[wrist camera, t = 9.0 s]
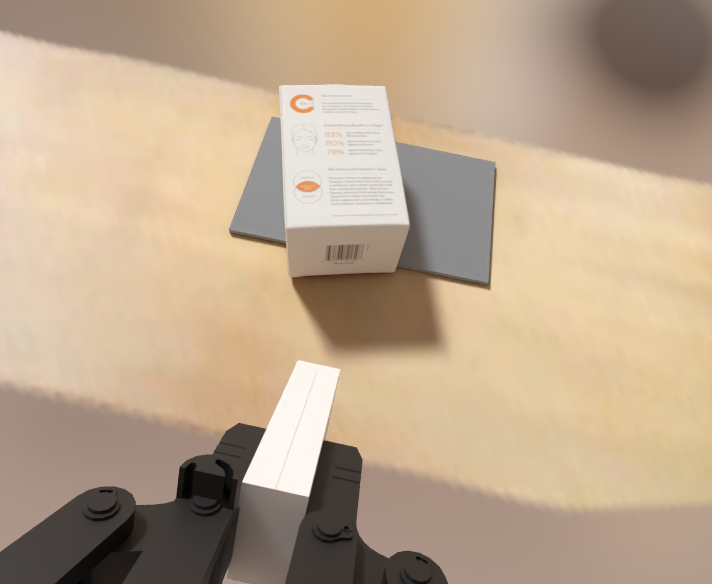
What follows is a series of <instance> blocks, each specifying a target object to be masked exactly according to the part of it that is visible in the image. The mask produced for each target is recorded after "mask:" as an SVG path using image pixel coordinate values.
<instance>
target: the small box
mask: <svg viewBox="0 0 712 584" xmlns="http://www.w3.org/2000/svg"><path fill="white" fill-rule="evenodd" d="M279 97H280V116H281V142H282V171H283V196H284V220H285V234H286V248H287V260H288V273H289V277H300V276H311V275H329V274H354V273H381V272H385V273H393V272H395V270H396V267H397V264H398V261H399V258H400V255H401V252H402V249H403V246H404V243H405V240H406V237H407V234H408V231H409V228H410V222H409V216H408V210H407V204H406V199H405V193H404V186H403V180H402V174H401V168H400V163H399V158H398V152H397V147H396V142H395V136H394V131H393V125H392V120H391V114H390V108H389V103H388V97H387V91H386V87H385V86H350V85H338V84H337V85H334V84H332V85H331V84H330V85H282V86H280V87H279Z"/></svg>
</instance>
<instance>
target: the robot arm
mask: <svg viewBox="0 0 712 584" xmlns="http://www.w3.org/2000/svg"><path fill="white" fill-rule="evenodd" d="M339 373H340V369H336V368H332V367H327V366H323V365H318V364H313V363H309V362H304V361H300V360H298V362H297V364H296V366H295V368H294V371H293V373H292V375H291V377H290V379H289V381H288V384H287V386H286V388H285V390H284V392H283V394H282V397H281V399H280V401H279V403H278V405H277V407H276V410H275V412H274V414H273V416H272V418H271V420H270V423H269V425H268V427H267V429H264V428H260V427H255V426H251V425H246V424H241V423H238V424H237V425H235V426H233V427H232V428H230V429H229V430H227V431H226V432H225V434H224V436H223V437H222V439H221V441H220V443H219V444H218V446H217V447H216V449H215V451H214V453H213V454H212V455H201V456H196V457H193V458H191V459H189V460H187V461H186V462H184V463H183V464H182V465H181V466H180V470H179V478H178V487H177V495H176V499H175V500H174V501H173V502H169V503H165V504H157V505H136V502H135V499H134V497H133V495H132V494H131V493H129V492H128V491H127V490H125V489H122V488H118V487H99V488H95V489H91V490H88V491H86V492H84V493H82V494H80V495H79V496H77V497H76V498H74V499H73V500H71V501H70V502H68V503H67V504H66V505H64V506H63V507H62V508H60V509H59V510H57V511H56V512H55V513H53V514H52V515H51V516H49V517H48V518H46V519H45V520H44V521H42V522H41V523H40V524H38V525H37V526H35V527H34V528H33V529H31V530H30V531H28V532H27V533H26V534H24V535H23V536H22V537H20V538H19V539H18V540H16V541H15V542H13V543H12V544H11V545H9V546H8V547H6V548H5V549H4V550H2V551H1V552H0V584H222V581H223V579H224V576H225V574H226V571H227V569H228V574H227V578H228V579H232V580H237V581H241V582H245V583H250V584H448V582H447V580H446V577H445V575H444V574H443V572H442V570H441V569H440V567H439V566H438V565H437V564H436V563H435V562H434V561H432V560H431V559H430V558H428V557H426V556H425V555H422V554H420V553H417V552H412V551H403V552H397V553H396V554H394V555H393V556H391V557H390V558H387V557H385V556H383V555H381V554H379V553H377V552H376V551H374V550H372V549H371V548H370V547H369V546H367V544H365V543H364V542H363V540H362V539H361V537H360V536H359V533H358V531H357V527H356V519H357V509H358V499H359V489H360V480H361V470H362V458H361V456H360V453H359V451H358V449H357V448H356V447H352V446H347V445H343V444H338V443H334V442H329V441H325V439H326V435H327V430H328V425H329V421H330V416H331V411H332V406H333V401H334V397H335V392H336V387H337V382H338V378H339ZM228 566H229V568H228Z"/></svg>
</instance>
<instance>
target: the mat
mask: <svg viewBox="0 0 712 584" xmlns="http://www.w3.org/2000/svg"><path fill="white" fill-rule="evenodd" d="M396 147H397V152H398V158H399V163H400V168H401V174H402V180H403V186H404V193H405V199H406V204H407V210H408V216H409V222H410V228H409V231H408V234H407V237H406V240H405V243H404V246H403V249H402V252H401V255H400V258H399V261H398V264H397V267H400V268H405V269H410V270H415V271H420V272H425V273H430V274H434V275H439V276H444V277H449V278H454V279H459V280H464V281H469V282H473V283H478V284H483V285H487V284H488V283H489V265H490V247H491V230H492V212H493V194H494V176H495V162H491V161H487V160H482V159H477V158H472V157H467V156H462V155H457V154H452V153H447V152H443V151H438V150H433V149H428V148H423V147H418V146H413V145H408V144H403V143H399V142H396ZM229 231H230V233H235V234H239V235H244V236H249V237H254V238H259V239H264V240H269V241H274V242H278V243H283V244H286V234H285V220H284V196H283V171H282V142H281V118H276V117H271V120H270V123H269V125H268V128H267V131H266V133H265V136H264V139H263V141H262V144H261V146H260V149H259V152H258V154H257V157H256V160H255V162H254V165H253V168H252V170H251V173H250V175H249V178H248V181H247V183H246V186H245V189H244V191H243V194H242V197H241V199H240V202H239V205H238V207H237V210H236V212H235V215H234V218H233V220H232V223H231V226H230V228H229Z"/></svg>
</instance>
